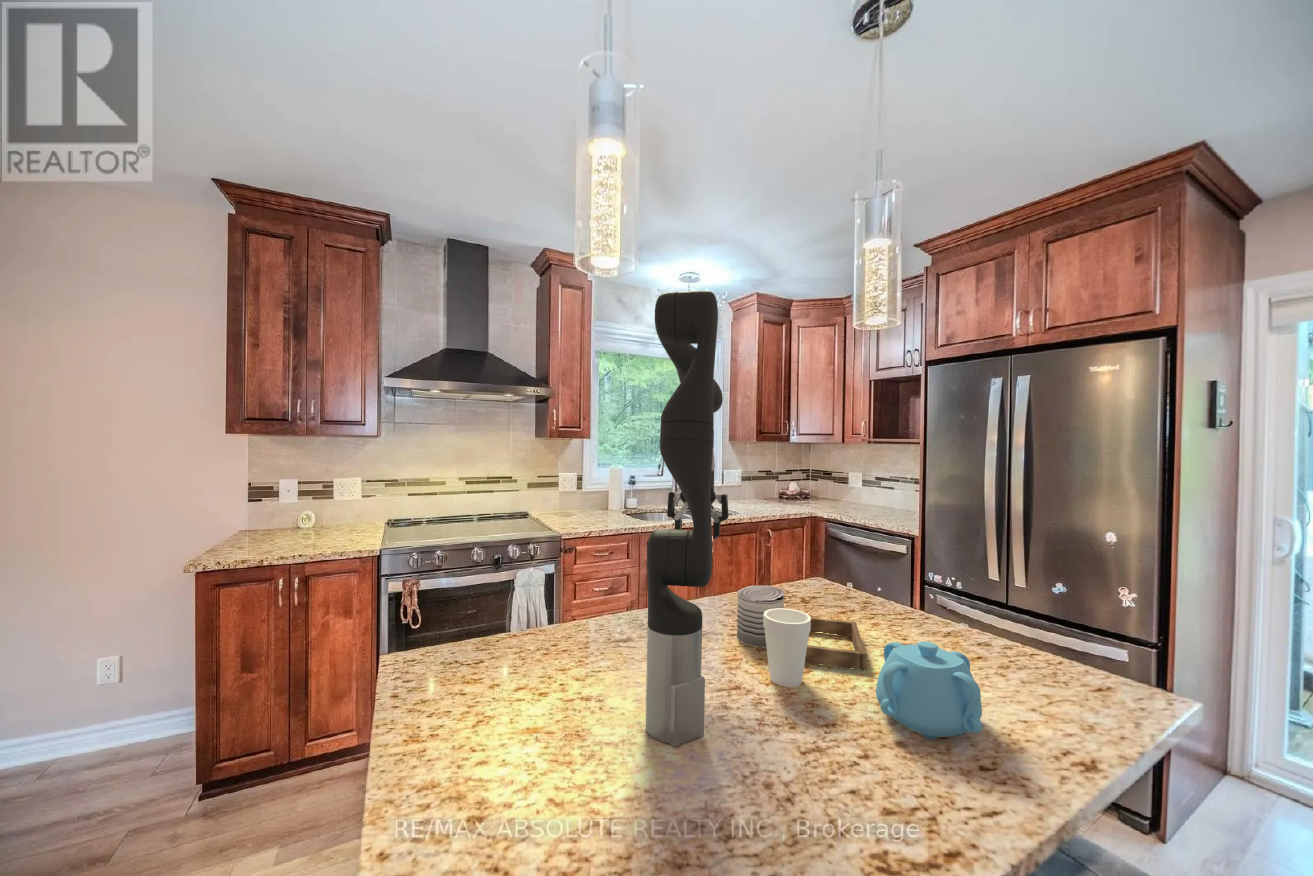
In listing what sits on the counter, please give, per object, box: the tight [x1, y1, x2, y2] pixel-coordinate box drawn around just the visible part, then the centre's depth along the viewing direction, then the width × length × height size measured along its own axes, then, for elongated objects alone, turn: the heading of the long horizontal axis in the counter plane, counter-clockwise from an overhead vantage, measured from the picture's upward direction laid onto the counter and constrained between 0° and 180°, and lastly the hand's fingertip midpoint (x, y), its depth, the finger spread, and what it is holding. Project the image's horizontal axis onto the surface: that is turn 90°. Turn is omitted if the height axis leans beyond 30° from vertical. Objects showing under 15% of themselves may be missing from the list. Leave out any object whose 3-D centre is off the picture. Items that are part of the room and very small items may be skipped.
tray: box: [805, 616, 867, 671], centre depth 121 cm, size 20×20×4 cm
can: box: [736, 585, 786, 649], centre depth 125 cm, size 11×11×12 cm
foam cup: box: [763, 607, 811, 688], centre depth 104 cm, size 10×9×13 cm
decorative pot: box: [875, 640, 983, 740], centre depth 89 cm, size 16×16×14 cm
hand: (697, 537), depth 120 cm, fingers open, 8 cm apart
